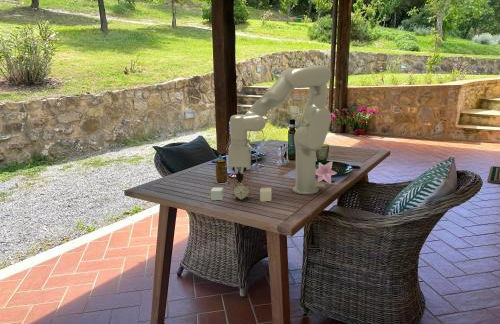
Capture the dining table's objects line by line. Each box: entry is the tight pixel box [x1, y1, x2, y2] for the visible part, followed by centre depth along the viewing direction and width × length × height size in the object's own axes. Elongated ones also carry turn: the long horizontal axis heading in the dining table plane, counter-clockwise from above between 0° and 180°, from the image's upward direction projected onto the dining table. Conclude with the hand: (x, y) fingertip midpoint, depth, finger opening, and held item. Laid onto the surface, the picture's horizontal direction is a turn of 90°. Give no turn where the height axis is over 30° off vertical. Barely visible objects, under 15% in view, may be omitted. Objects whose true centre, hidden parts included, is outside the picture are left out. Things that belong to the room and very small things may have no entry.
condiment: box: [215, 159, 229, 184], centre depth 209 cm, size 7×8×12 cm
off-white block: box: [259, 187, 273, 202], centre depth 183 cm, size 5×5×5 cm
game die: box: [232, 181, 251, 202], centre depth 184 cm, size 9×8×10 cm
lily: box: [315, 161, 337, 185], centre depth 207 cm, size 12×12×10 cm
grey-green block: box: [210, 187, 225, 201], centre depth 185 cm, size 5×5×5 cm
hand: (239, 181), depth 182 cm, fingers closed
